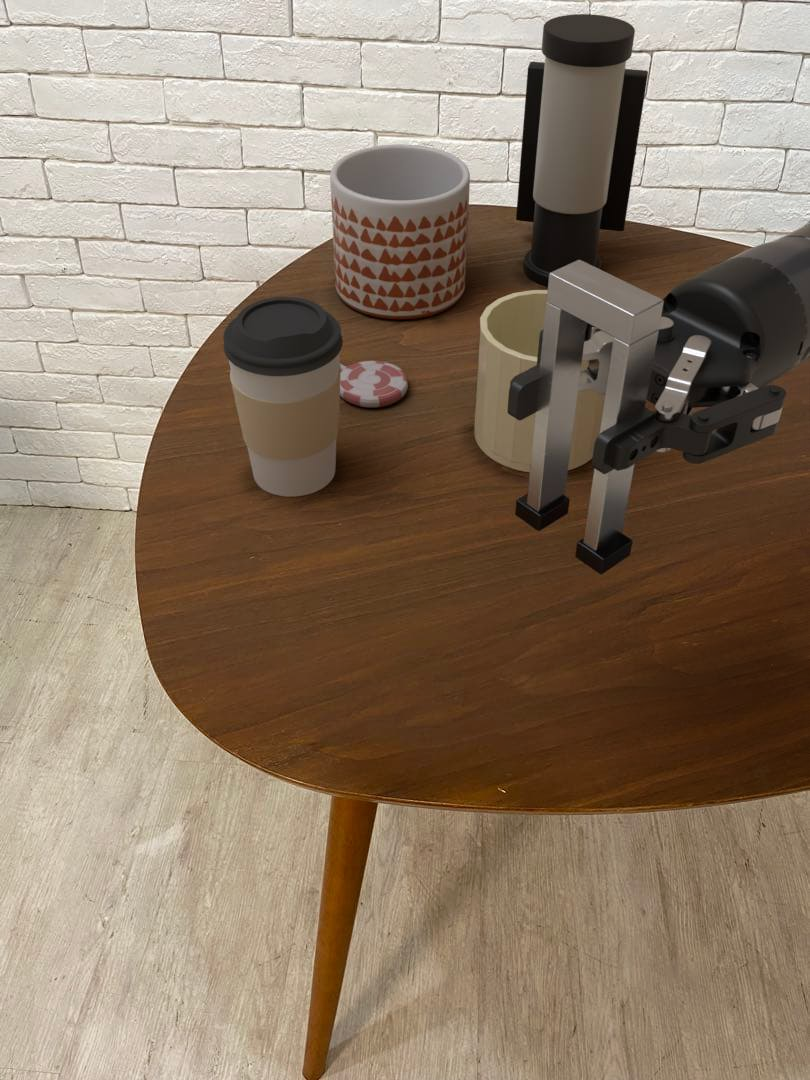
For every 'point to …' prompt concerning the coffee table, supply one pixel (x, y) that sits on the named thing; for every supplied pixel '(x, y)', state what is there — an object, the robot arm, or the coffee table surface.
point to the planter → (400, 230)
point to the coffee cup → (287, 391)
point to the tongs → (569, 308)
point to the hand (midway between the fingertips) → (555, 428)
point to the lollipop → (372, 383)
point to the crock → (500, 358)
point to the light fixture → (578, 140)
